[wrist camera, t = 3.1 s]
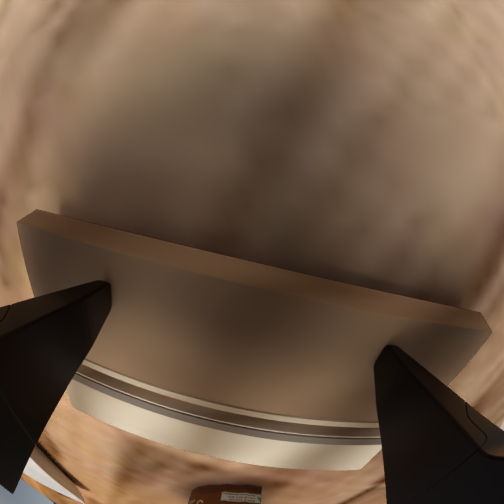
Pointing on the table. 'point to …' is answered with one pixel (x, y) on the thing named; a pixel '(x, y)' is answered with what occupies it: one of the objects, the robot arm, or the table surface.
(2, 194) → the table surface
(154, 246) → the board
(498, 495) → the robot arm
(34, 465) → the salad plate
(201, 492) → the food container
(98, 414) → the ash board
